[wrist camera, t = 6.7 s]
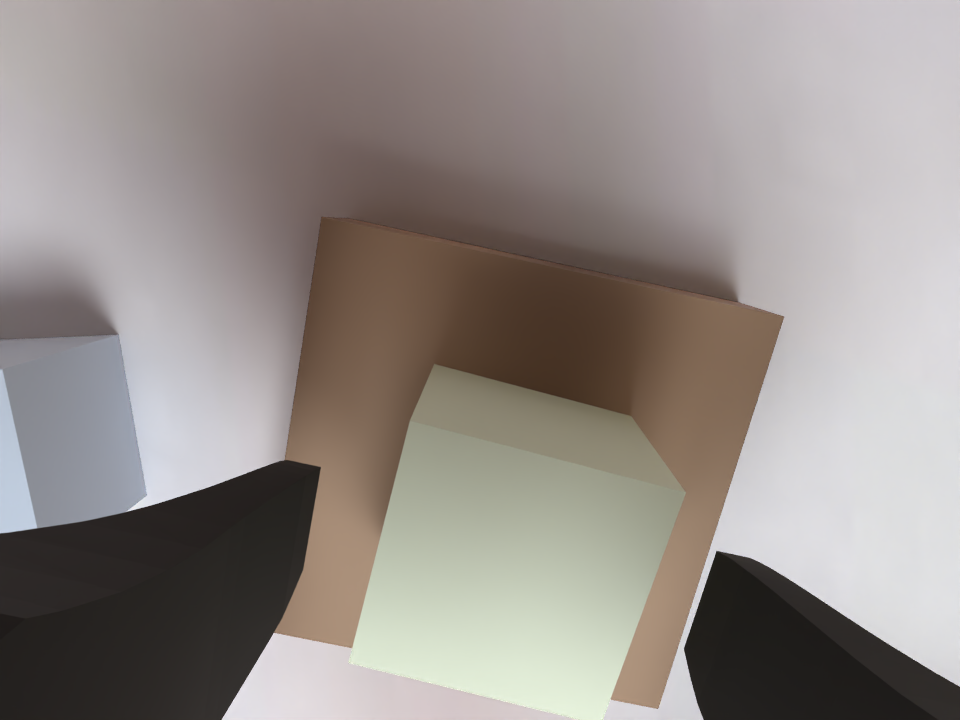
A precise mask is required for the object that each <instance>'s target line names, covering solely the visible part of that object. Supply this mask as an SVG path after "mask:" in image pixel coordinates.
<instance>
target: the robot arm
mask: <svg viewBox="0 0 960 720" xmlns="http://www.w3.org/2000/svg"><path fill="white" fill-rule="evenodd" d="M320 470H321V467H318V466H314V465H309V464H304V463H300V462H295V461H290V460H284V461H280V462H276V463H273V464H270V465H268V466H265V467H262V468H260V469H257V470H254V471H252V472H249V473H246V474H244V475H241V476H238V477H236V478H233V479H230V480H228V481H225V482H222V483H219V484H217V485H214V486H211V487H208V488H205V489H202V490H199V491H196V492H193V493H190V494H187V495H184V496H180V497H177V498H174V499H171V500H168V501H165V502H162V503H159V504H155V505H151V506H148V507H144V508H140V509H136V510H132V511H128V512H124V513H120V514H115V515H110V516H106V517H101V518H97V519H92V520H87V521H82V522H76V523H69V524H62V525H56V526H49V527H42V528H35V529H29V530H22V531H15V532H8V533H0V720H222V718H223V716H224V715H225V713H226V711H227V710H228V708H229V706H230V705H231V703H232V701H233V700H234V698H235V696H236V695H237V693H238V691H239V690H240V688H241V686H242V685H243V683H244V682H245V680H246V678H247V677H248V675H249V673H250V672H251V670H252V668H253V667H254V665H255V663H256V662H257V660H258V658H259V657H260V655H261V653H262V652H263V650H264V648H265V647H266V645H267V643H268V642H269V640H270V638H271V637H272V635H273V633H274V632H275V630H276V628H277V626H278V625H279V623H280V621H281V620H282V618H283V615H284V613H285V611H286V609H287V606H288V604H289V602H290V600H291V597H292V595H293V593H294V590H295V588H296V586H297V583H298V581H299V579H300V576H301V574H302V572H303V568H304V562H305V557H306V551H307V545H308V539H309V533H310V528H311V522H312V516H313V510H314V505H315V499H316V493H317V487H318V482H319V476H320ZM684 651H685V656H686V660H687V664H688V669H689V673H690V677H691V681H692V685H693V689H694V692H695V696H696V700H697V703H698V706H699V709H700V711H701V714H702V716H703V719H704V720H960V687H959V686H957V685H955V684H954V683H952V682H950V681H948V680H947V679H945V678H943V677H942V676H940V675H938V674H936V673H935V672H933V671H931V670H929V669H928V668H926V667H925V666H923V665H921V664H920V663H918V662H916V661H915V660H913V659H911V658H910V657H908V656H907V655H905V654H903V653H902V652H900V651H898V650H897V649H895V648H894V647H892V646H890V645H889V644H887V643H885V642H884V641H882V640H881V639H879V638H878V637H876V636H874V635H873V634H871V633H870V632H868V631H867V630H865V629H864V628H862V627H861V626H859V625H857V624H856V623H854V622H853V621H851V620H850V619H848V618H847V617H845V616H844V615H842V614H841V613H839V612H838V611H836V610H835V609H833V608H832V607H830V606H829V605H827V604H826V603H824V602H823V601H821V600H820V599H818V598H817V597H815V596H813V595H812V594H810V593H809V592H807V591H806V590H804V589H803V588H801V587H800V586H798V585H797V584H795V583H794V582H792V581H790V580H789V579H787V578H786V577H784V576H782V575H781V574H779V573H778V572H776V571H774V570H772V569H771V568H769V567H767V566H765V565H763V564H762V563H760V562H757V561H755V560H753V559H751V558H747V557H743V556H738V555H733V554H729V553H724V552H719V551H717V552H716V555H715V558H714V561H713V564H712V567H711V570H710V573H709V576H708V579H707V582H706V585H705V588H704V591H703V594H702V597H701V600H700V603H699V606H698V609H697V612H696V615H695V618H694V620H693V623H692V626H691V629H690V632H689V635H688V638H687V641H686V644H685V647H684Z"/></svg>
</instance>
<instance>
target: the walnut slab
mask: <svg viewBox="0 0 960 720" xmlns="http://www.w3.org/2000/svg"><path fill="white" fill-rule="evenodd" d="M783 319H784V316H780V315H777V314H774V313H771V312H768V311H765V310H761V309H758V308H755V307H752V306H749V305H745V304H742V303H739V302H734V301H730V300H725V299H721V298H716V297H711V296H707V295H702V294H697V293H693V292H688V291H683V290H679V289H674V288H670V287H665V286H660V285H656V284H651V283H646V282H642V281H637V280H632V279H628V278H623V277H618V276H614V275H609V274H605V273H600V272H595V271H591V270H586V269H581V268H577V267H572V266H567V265H563V264H558V263H554V262H549V261H544V260H540V259H535V258H530V257H526V256H521V255H516V254H512V253H507V252H503V251H498V250H493V249H489V248H484V247H479V246H475V245H470V244H465V243H461V242H456V241H451V240H447V239H442V238H438V237H433V236H428V235H424V234H419V233H414V232H410V231H405V230H400V229H396V228H391V227H387V226H382V225H377V224H373V223H368V222H363V221H359V220H354V219H349V218H332V217H321V224H320V231H319V237H318V244H317V250H316V257H315V264H314V270H313V277H312V283H311V290H310V297H309V303H308V310H307V316H306V323H305V330H304V336H303V343H302V349H301V356H300V363H299V369H298V376H297V382H296V389H295V396H294V402H293V409H292V415H291V422H290V429H289V435H288V442H287V448H286V455H285V460H290V461H295V462H300V463H304V464H309V465H314V466H318V467H321V470H320V476H319V482H318V487H317V493H316V499H315V505H314V510H313V516H312V522H311V528H310V533H309V539H308V545H307V551H306V557H305V562H304V568H303V572H302V574H301V576H300V579H299V581H298V583H297V586H296V588H295V590H294V593H293V595H292V597H291V600H290V602H289V604H288V606H287V609H286V611H285V613H284V615H283V618H282V620H281V621H280V623H279V625H278V626H277V628H276V630H275V632H274V633H278V634H283V635H288V636H293V637H298V638H303V639H308V640H313V641H319V642H324V643H329V644H334V645H339V646H344V647H349V648H352V647H353V643H354V639H355V635H356V631H357V627H358V623H359V619H360V616H361V612H362V608H363V604H364V600H365V596H366V592H367V588H368V584H369V580H370V576H371V572H372V568H373V564H374V560H375V556H376V552H377V548H378V544H379V541H380V537H381V533H382V529H383V525H384V521H385V517H386V513H387V509H388V505H389V501H390V497H391V493H392V489H393V485H394V481H395V477H396V473H397V470H398V466H399V462H400V458H401V454H402V450H403V446H404V442H405V438H406V434H407V430H408V426H409V422H410V419H411V417H412V415H413V412H414V410H415V408H416V405H417V403H418V401H419V398H420V396H421V394H422V391H423V389H424V387H425V384H426V382H427V380H428V377H429V375H430V373H431V370H432V368H433V366H434V364H436V365H440V366H444V367H448V368H451V369H455V370H459V371H463V372H466V373H470V374H474V375H478V376H482V377H485V378H489V379H493V380H497V381H500V382H504V383H508V384H512V385H516V386H519V387H523V388H527V389H531V390H535V391H538V392H542V393H546V394H550V395H553V396H557V397H561V398H565V399H569V400H572V401H576V402H580V403H584V404H587V405H591V406H595V407H599V408H603V409H606V410H610V411H614V412H618V413H621V414H625V415H629V416H631V417H632V418H633V419H634V421H635V422H636V423H637V425H638V426H639V428H640V429H641V430H642V432H643V433H644V435H645V436H646V437H647V439H648V440H649V442H650V443H651V444H652V446H653V447H654V449H655V450H656V451H657V453H658V454H659V456H660V457H661V458H662V460H663V461H664V463H665V464H666V465H667V467H668V468H669V469H670V471H671V472H672V474H673V475H674V476H675V478H676V479H677V481H678V482H679V483H680V485H681V486H682V488H683V489H684V490H685V492H686V494H685V497H684V500H683V502H682V505H681V508H680V510H679V513H678V516H677V519H676V521H675V524H674V527H673V530H672V532H671V535H670V538H669V541H668V543H667V546H666V549H665V551H664V554H663V557H662V560H661V562H660V565H659V568H658V571H657V573H656V576H655V579H654V581H653V584H652V587H651V590H650V592H649V595H648V598H647V601H646V603H645V606H644V609H643V612H642V614H641V617H640V620H639V622H638V625H637V628H636V631H635V633H634V636H633V639H632V642H631V644H630V647H629V650H628V652H627V655H626V658H625V661H624V663H623V666H622V669H621V672H620V674H619V677H618V680H617V683H616V685H615V688H614V691H613V693H612V696H611V700H616V701H621V702H626V703H631V704H636V705H641V706H646V707H651V708H656V709H658V708H659V705H660V701H661V698H662V695H663V692H664V689H665V686H666V683H667V680H668V677H669V673H670V670H671V667H672V664H673V661H674V658H675V655H676V652H677V649H678V645H679V642H680V639H681V636H682V633H683V630H684V627H685V624H686V621H687V617H688V614H689V611H690V608H691V605H692V602H693V599H694V596H695V593H696V589H697V586H698V583H699V580H700V577H701V574H702V571H703V568H704V565H705V561H706V558H707V555H708V552H709V549H710V546H711V543H712V540H713V537H714V533H715V530H716V527H717V524H718V521H719V518H720V515H721V512H722V509H723V505H724V502H725V499H726V496H727V493H728V490H729V487H730V484H731V481H732V477H733V474H734V471H735V468H736V465H737V462H738V459H739V456H740V453H741V449H742V446H743V443H744V440H745V437H746V434H747V431H748V428H749V425H750V421H751V418H752V415H753V412H754V409H755V406H756V403H757V400H758V397H759V393H760V390H761V387H762V384H763V381H764V378H765V375H766V372H767V369H768V365H769V362H770V359H771V356H772V353H773V350H774V347H775V344H776V341H777V337H778V334H779V331H780V328H781V325H782V322H783Z"/></svg>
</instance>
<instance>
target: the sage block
mask: <svg viewBox="0 0 960 720" xmlns="http://www.w3.org/2000/svg"><path fill="white" fill-rule="evenodd" d="M685 494H686V492H685V490H684V489H683V488H682V486H681V485H680V483H679V482H678V481H677V479H676V478H675V476H674V475H673V474H672V472H671V471H670V469H669V468H668V467H667V465H666V464H665V463H664V461H663V460H662V458H661V457H660V456H659V454H658V453H657V451H656V450H655V449H654V447H653V446H652V444H651V443H650V442H649V440H648V439H647V437H646V436H645V435H644V433H643V432H642V430H641V429H640V428H639V426H638V425H637V423H636V422H635V421H634V419H633V418H632V417H631V416H629V415H625V414H621V413H618V412H614V411H610V410H606V409H603V408H599V407H595V406H591V405H587V404H584V403H580V402H576V401H572V400H569V399H565V398H561V397H557V396H553V395H550V394H546V393H542V392H538V391H535V390H531V389H527V388H523V387H519V386H516V385H512V384H508V383H504V382H500V381H497V380H493V379H489V378H485V377H482V376H478V375H474V374H470V373H466V372H463V371H459V370H455V369H451V368H448V367H444V366H440V365H436V364H434V366H433V368H432V370H431V373H430V375H429V377H428V380H427V382H426V384H425V387H424V389H423V391H422V394H421V396H420V398H419V401H418V403H417V405H416V408H415V410H414V412H413V415H412V417H411V419H410V422H409V426H408V430H407V434H406V438H405V442H404V446H403V450H402V454H401V458H400V462H399V466H398V470H397V473H396V477H395V481H394V485H393V489H392V493H391V497H390V501H389V505H388V509H387V513H386V517H385V521H384V525H383V529H382V533H381V537H380V541H379V544H378V548H377V552H376V556H375V560H374V564H373V568H372V572H371V576H370V580H369V584H368V588H367V592H366V596H365V600H364V604H363V608H362V612H361V616H360V619H359V623H358V627H357V631H356V635H355V639H354V643H353V647H352V651H351V655H350V659H349V663H350V664H354V665H358V666H362V667H366V668H371V669H375V670H379V671H383V672H387V673H391V674H395V675H399V676H403V677H407V678H411V679H415V680H419V681H423V682H427V683H431V684H435V685H440V686H444V687H448V688H452V689H456V690H460V691H464V692H468V693H472V694H476V695H480V696H484V697H488V698H492V699H496V700H500V701H504V702H509V703H513V704H517V705H521V706H525V707H529V708H533V709H537V710H541V711H545V712H549V713H553V714H557V715H561V716H565V717H569V718H573V719H578V720H603V718H604V715H605V713H606V710H607V707H608V704H609V702H610V699H611V696H612V693H613V691H614V688H615V685H616V683H617V680H618V677H619V674H620V672H621V669H622V666H623V663H624V661H625V658H626V655H627V652H628V650H629V647H630V644H631V642H632V639H633V636H634V633H635V631H636V628H637V625H638V622H639V620H640V617H641V614H642V612H643V609H644V606H645V603H646V601H647V598H648V595H649V592H650V590H651V587H652V584H653V581H654V579H655V576H656V573H657V571H658V568H659V565H660V562H661V560H662V557H663V554H664V551H665V549H666V546H667V543H668V541H669V538H670V535H671V532H672V530H673V527H674V524H675V521H676V519H677V516H678V513H679V510H680V508H681V505H682V502H683V500H684V497H685Z"/></svg>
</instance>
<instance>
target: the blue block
mask: <svg viewBox="0 0 960 720" xmlns="http://www.w3.org/2000/svg"><path fill="white" fill-rule="evenodd" d="M146 495H147V494H146V488H145V483H144V477H143V471H142V465H141V460H140V454H139V448H138V443H137V437H136V431H135V425H134V420H133V414H132V408H131V403H130V397H129V391H128V385H127V380H126V374H125V368H124V363H123V357H122V351H121V345H120V340H119V335H97V336H74V337H51V338H28V339H4V340H0V533H8V532H15V531H22V530H29V529H35V528H42V527H49V526H56V525H62V524H69V523H76V522H82V521H87V520H92V519H97V518H101V517H106V516H110V515H115V514H120V513H124V512H126V511H127V510H129V509H130V508H131V507H132V506H134V505H135V504H136V503H138V502H139V501H140V500H141V499H143V498H144V497H145V496H146Z"/></svg>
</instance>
